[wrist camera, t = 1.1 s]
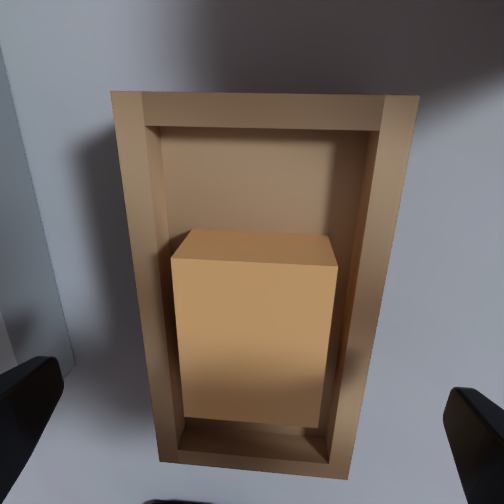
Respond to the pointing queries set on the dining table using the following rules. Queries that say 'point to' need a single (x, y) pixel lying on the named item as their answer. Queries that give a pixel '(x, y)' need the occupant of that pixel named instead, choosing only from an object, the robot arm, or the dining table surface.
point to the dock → (25, 258)
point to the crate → (253, 324)
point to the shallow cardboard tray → (269, 221)
